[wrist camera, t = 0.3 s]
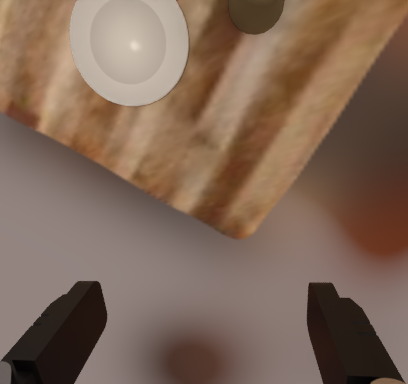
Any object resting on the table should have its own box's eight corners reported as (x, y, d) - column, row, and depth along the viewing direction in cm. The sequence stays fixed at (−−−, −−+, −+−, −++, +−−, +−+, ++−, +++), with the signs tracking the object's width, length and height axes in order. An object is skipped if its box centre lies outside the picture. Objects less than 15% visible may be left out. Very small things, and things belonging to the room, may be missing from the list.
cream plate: (70, -31, 32) (64, -35, 31) (193, -23, 31) (192, -27, 30) (77, 100, 36) (73, 100, 35) (185, 111, 35) (183, 111, 34)
